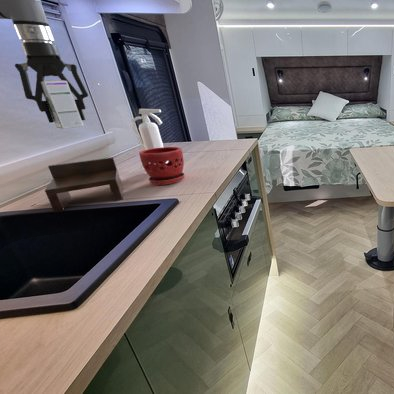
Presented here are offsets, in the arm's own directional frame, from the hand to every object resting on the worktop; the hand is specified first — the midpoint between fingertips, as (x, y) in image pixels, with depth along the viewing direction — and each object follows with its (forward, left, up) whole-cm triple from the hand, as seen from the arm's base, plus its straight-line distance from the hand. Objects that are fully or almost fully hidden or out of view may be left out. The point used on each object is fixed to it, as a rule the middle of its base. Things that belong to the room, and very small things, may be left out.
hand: (68, 120), depth 95 cm
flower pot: (+23, -10, -23) cm, 34 cm away
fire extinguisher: (+21, +7, -23) cm, 32 cm away
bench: (+1, -15, -23) cm, 28 cm away
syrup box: (0, 0, -2) cm, 2 cm away
